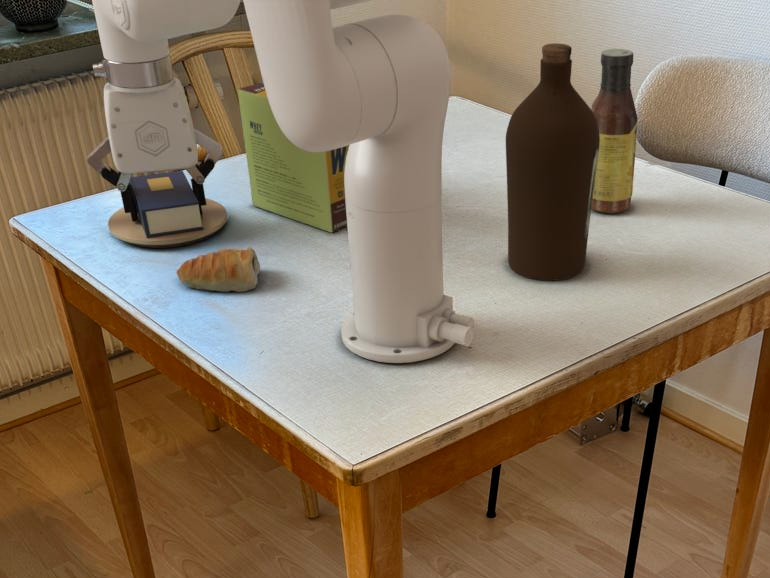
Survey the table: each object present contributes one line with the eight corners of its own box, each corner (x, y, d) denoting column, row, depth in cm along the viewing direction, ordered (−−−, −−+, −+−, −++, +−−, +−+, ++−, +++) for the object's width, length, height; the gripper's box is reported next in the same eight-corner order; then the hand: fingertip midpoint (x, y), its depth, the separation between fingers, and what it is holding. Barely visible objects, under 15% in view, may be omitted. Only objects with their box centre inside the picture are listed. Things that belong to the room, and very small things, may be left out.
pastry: (176, 296, 116) (170, 265, 113) (183, 271, 121) (177, 241, 119) (258, 292, 116) (254, 261, 114) (262, 267, 122) (258, 238, 119)
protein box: (333, 234, 130) (322, 111, 120) (251, 206, 137) (235, 88, 128) (387, 209, 136) (380, 91, 127) (306, 184, 144) (294, 70, 134)
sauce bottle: (639, 210, 136) (655, 55, 124) (599, 218, 134) (612, 61, 122) (614, 194, 141) (627, 43, 129) (575, 201, 139) (585, 49, 127)
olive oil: (514, 287, 118) (520, 62, 103) (494, 250, 126) (497, 36, 111) (601, 279, 120) (619, 57, 104) (576, 243, 128) (590, 32, 112)
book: (238, 234, 128) (233, 201, 125) (116, 252, 123) (108, 218, 120) (215, 193, 139) (210, 162, 136) (102, 209, 134) (95, 177, 131)
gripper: (62, 85, 115) (97, 232, 126) (217, 74, 119) (238, 218, 130) (64, 68, 120) (97, 210, 131) (212, 58, 124) (232, 197, 135)
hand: (167, 213), depth 130 cm, fingers open, 7 cm apart
